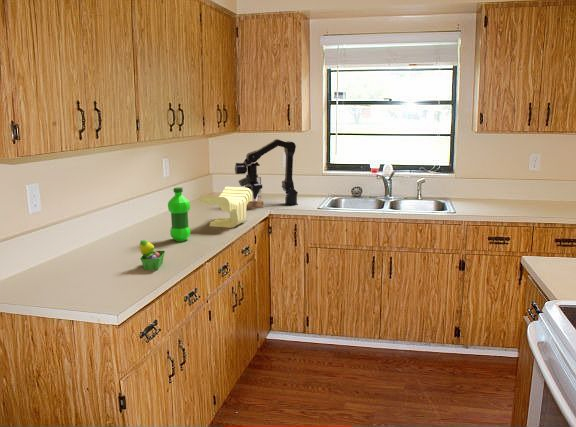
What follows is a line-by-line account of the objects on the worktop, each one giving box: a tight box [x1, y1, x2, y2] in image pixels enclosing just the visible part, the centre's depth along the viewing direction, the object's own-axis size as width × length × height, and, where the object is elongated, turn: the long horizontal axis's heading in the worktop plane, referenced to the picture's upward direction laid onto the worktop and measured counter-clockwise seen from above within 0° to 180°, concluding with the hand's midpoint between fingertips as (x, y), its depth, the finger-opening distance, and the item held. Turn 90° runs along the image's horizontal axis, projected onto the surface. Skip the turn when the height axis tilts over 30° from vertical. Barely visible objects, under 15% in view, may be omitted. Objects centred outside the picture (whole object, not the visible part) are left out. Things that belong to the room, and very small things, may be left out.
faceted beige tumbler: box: [250, 189, 258, 202], centre depth 329 cm, size 7×7×7 cm
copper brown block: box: [246, 199, 264, 210], centre depth 330 cm, size 10×10×4 cm
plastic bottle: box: [167, 187, 191, 242], centre depth 251 cm, size 10×10×25 cm
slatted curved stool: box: [200, 186, 252, 229], centre depth 283 cm, size 30×16×18 cm, turn 162°
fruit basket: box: [139, 239, 166, 271], centre depth 212 cm, size 11×9×11 cm
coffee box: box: [244, 176, 262, 201], centre depth 348 cm, size 9×6×16 cm
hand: (252, 198), depth 330 cm, fingers closed on faceted beige tumbler, 6 cm apart
